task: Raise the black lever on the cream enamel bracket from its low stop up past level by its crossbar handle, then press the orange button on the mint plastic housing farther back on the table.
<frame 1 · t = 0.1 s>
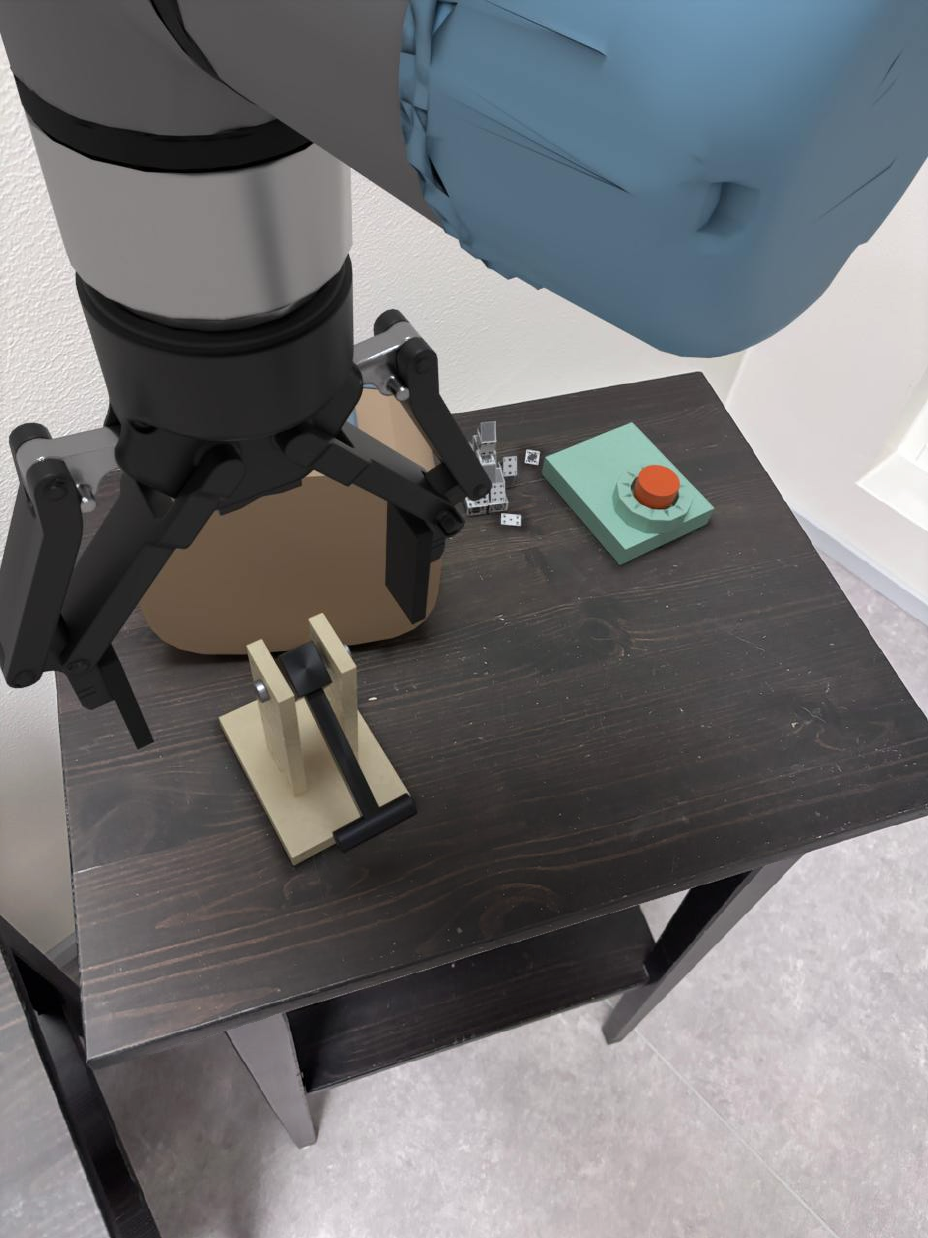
hand: (277, 658, 42), 24 cm above the table, tool pointing down, fingers open, 13 cm apart
alarm clock: (297, 608, 73), on the table
lever: (336, 741, 55), point 11 cm above the table, hinge at -25.0°
bracket: (313, 764, 66), on the table
button box: (623, 498, 83), on the table
button: (656, 487, 78), point 4 cm above the table, slide at 0.1 cm
house of cards: (504, 490, 83), on the table
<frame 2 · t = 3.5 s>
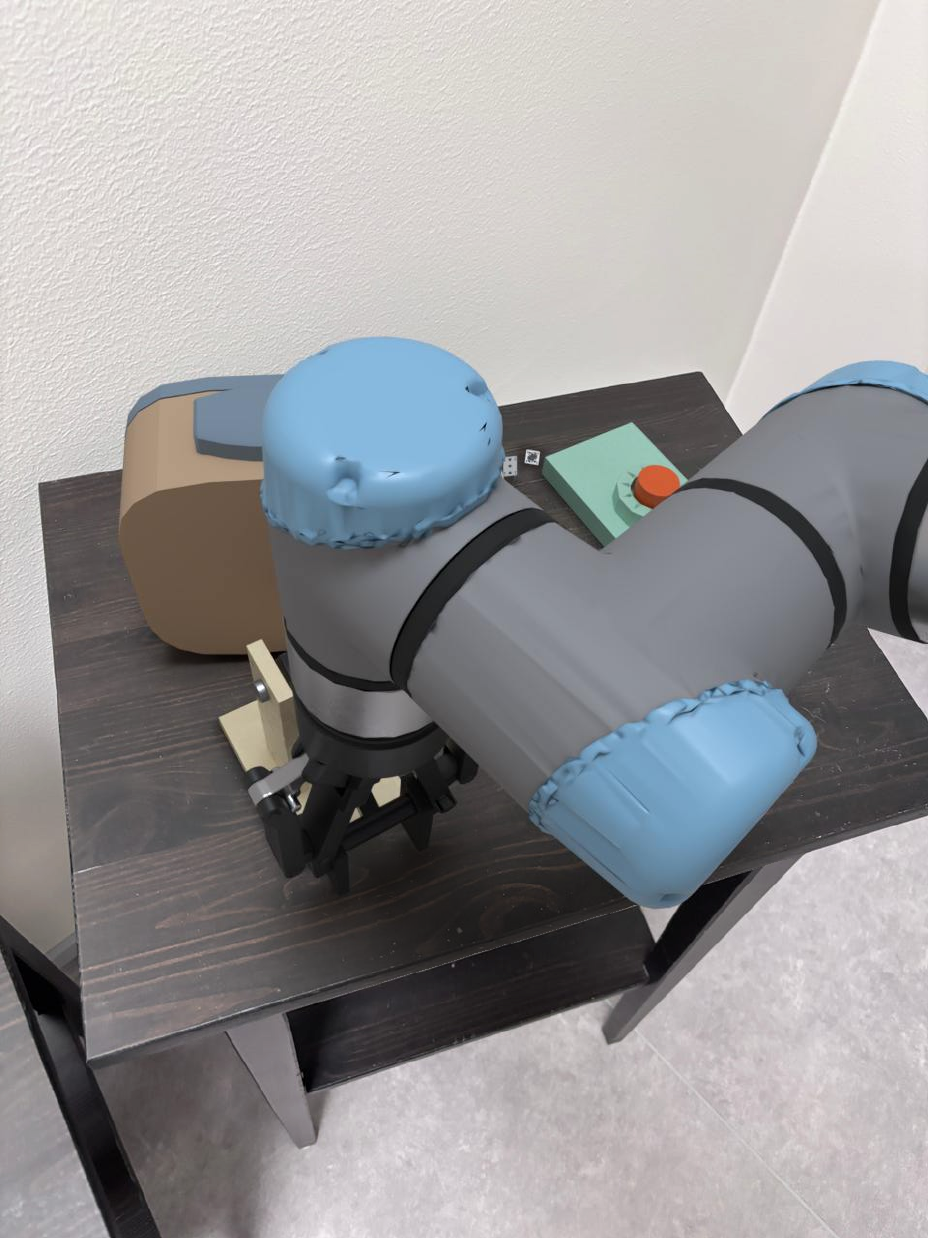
hand: (374, 853, 59), 4 cm above the table, tool pointing down, fingers closed on lever, 5 cm apart
lever: (336, 741, 55), point 11 cm above the table, hinge at -25.0°, touching gripper
everything else where it was.
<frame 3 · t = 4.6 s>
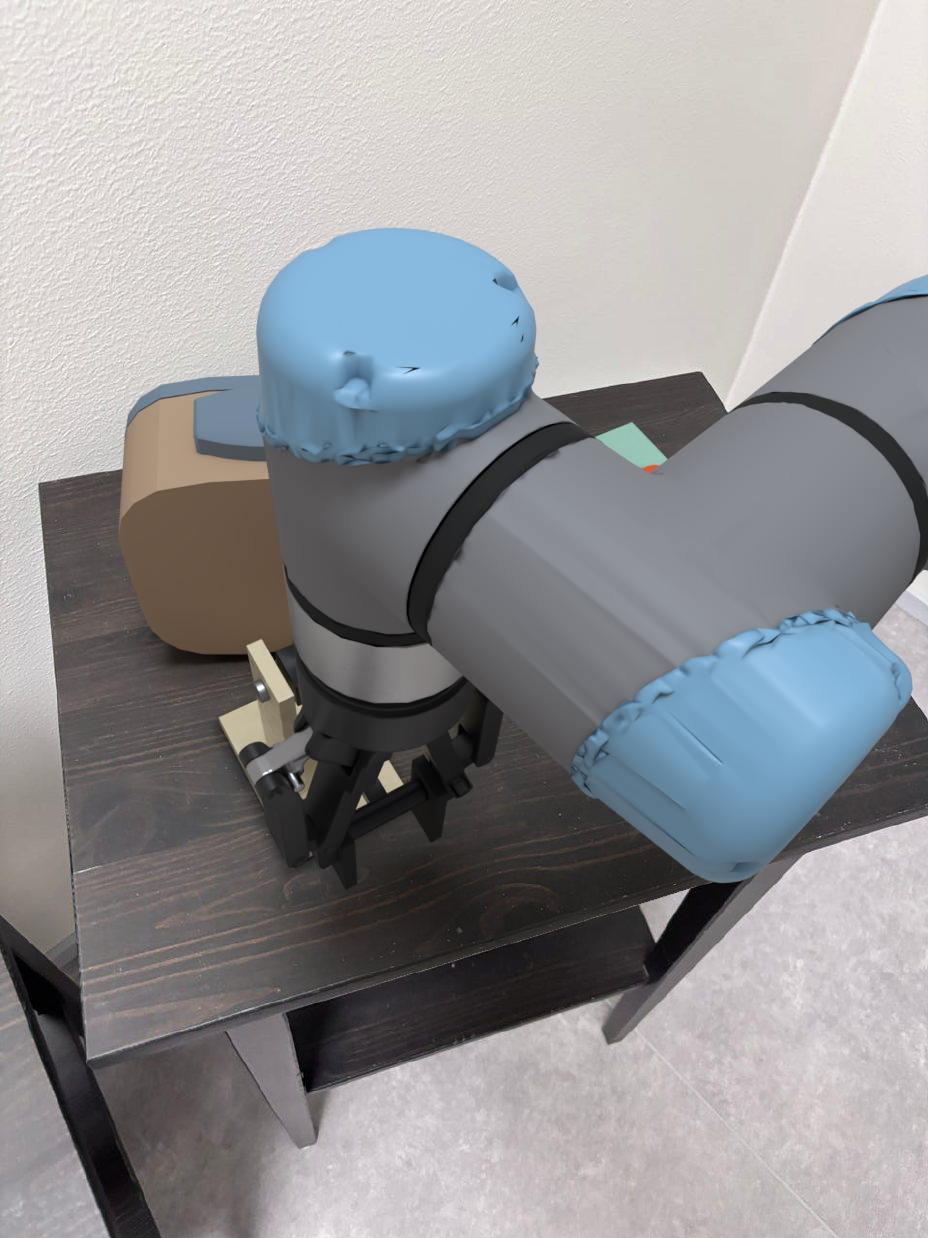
hand: (383, 844, 55), 8 cm above the table, tool pointing down, fingers closed on lever, 5 cm apart
lever: (339, 733, 53), point 13 cm above the table, hinge at -1.4°, touching gripper
everything else where it was.
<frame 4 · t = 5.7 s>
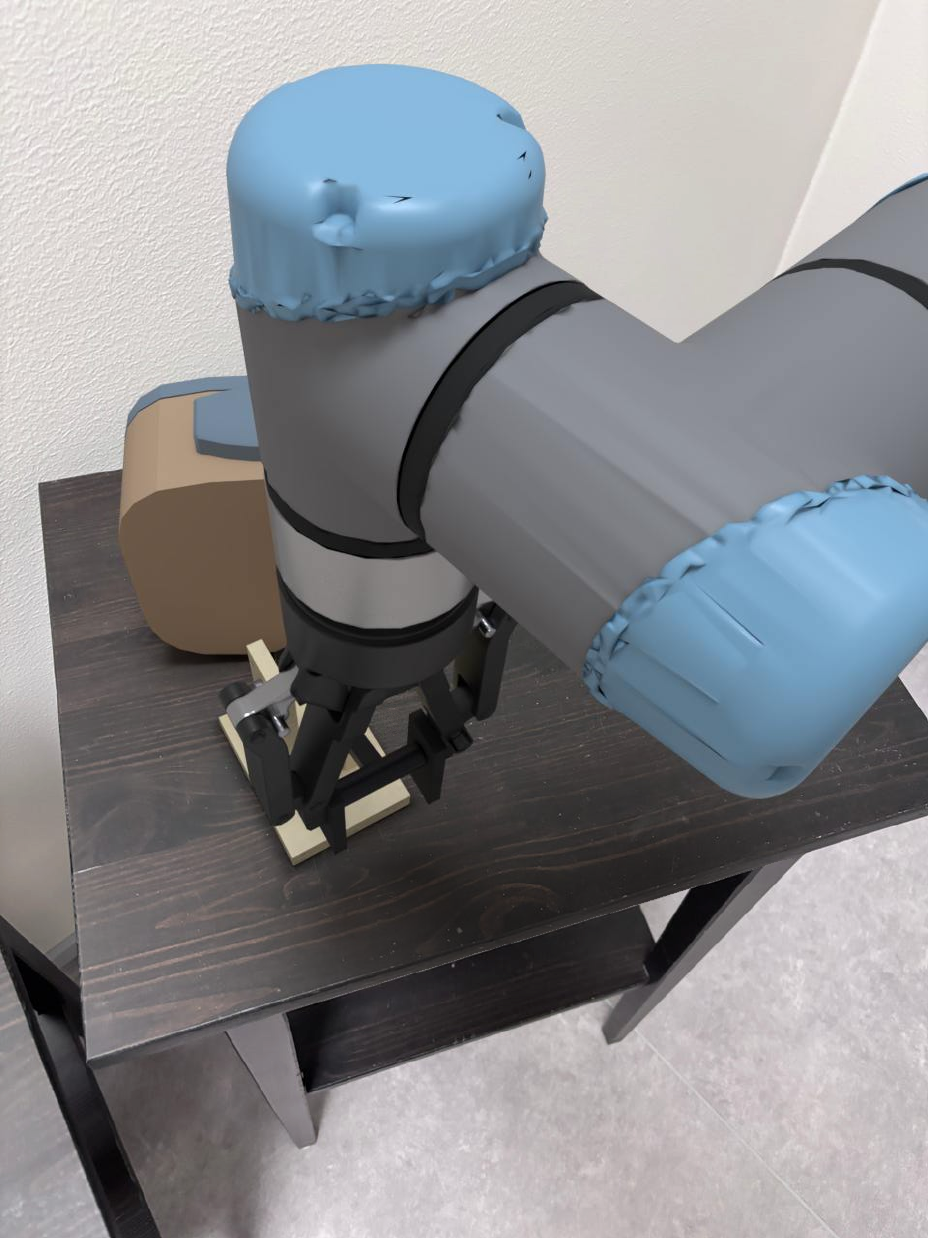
hand: (377, 806, 52), 12 cm above the table, tool pointing down, fingers open, 5 cm apart
lever: (336, 716, 52), point 15 cm above the table, hinge at 19.6°
everything else where it was.
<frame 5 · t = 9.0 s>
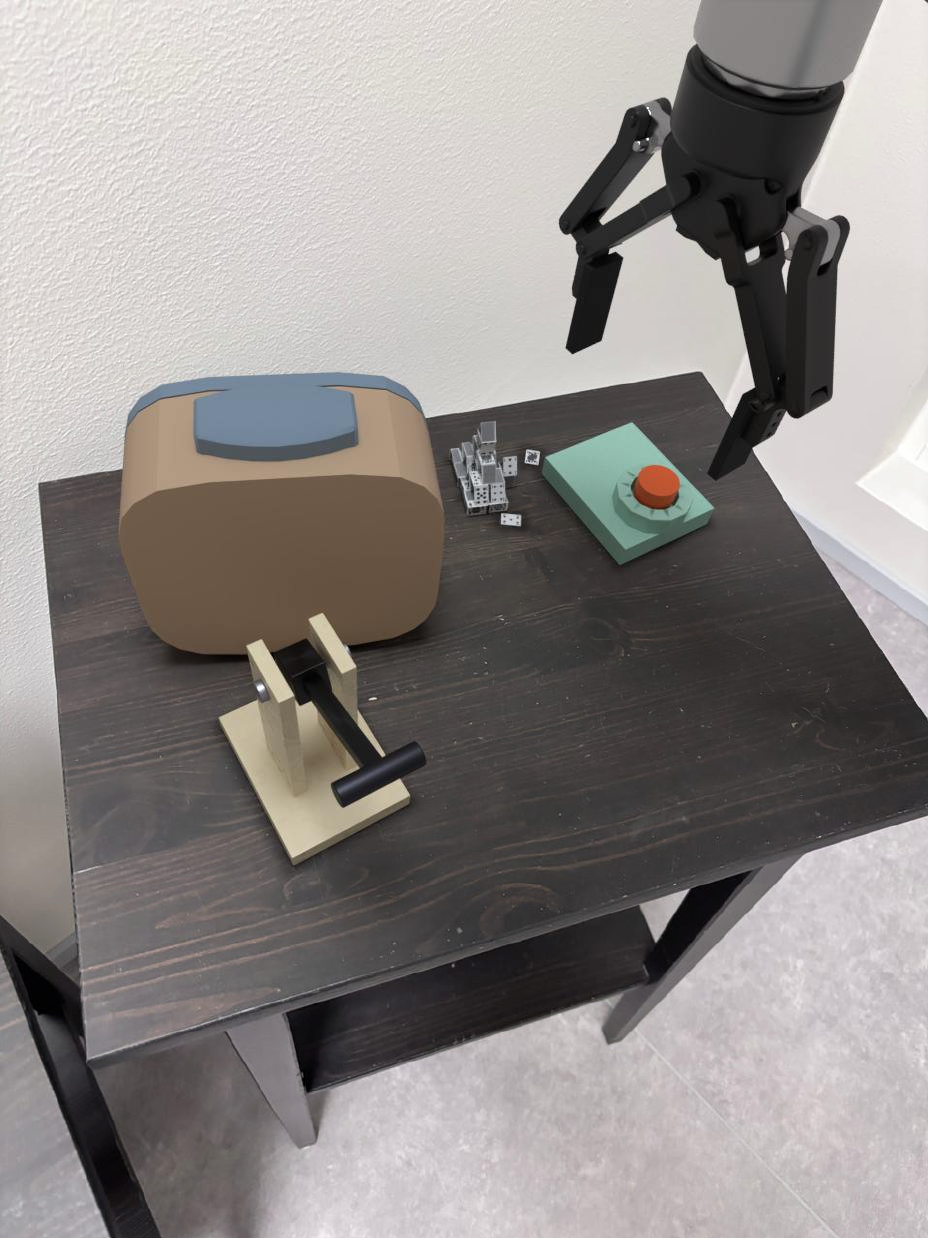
hand: (651, 404, 60), 21 cm above the table, tool pointing down, fingers open, 13 cm apart
nothing on the table moved.
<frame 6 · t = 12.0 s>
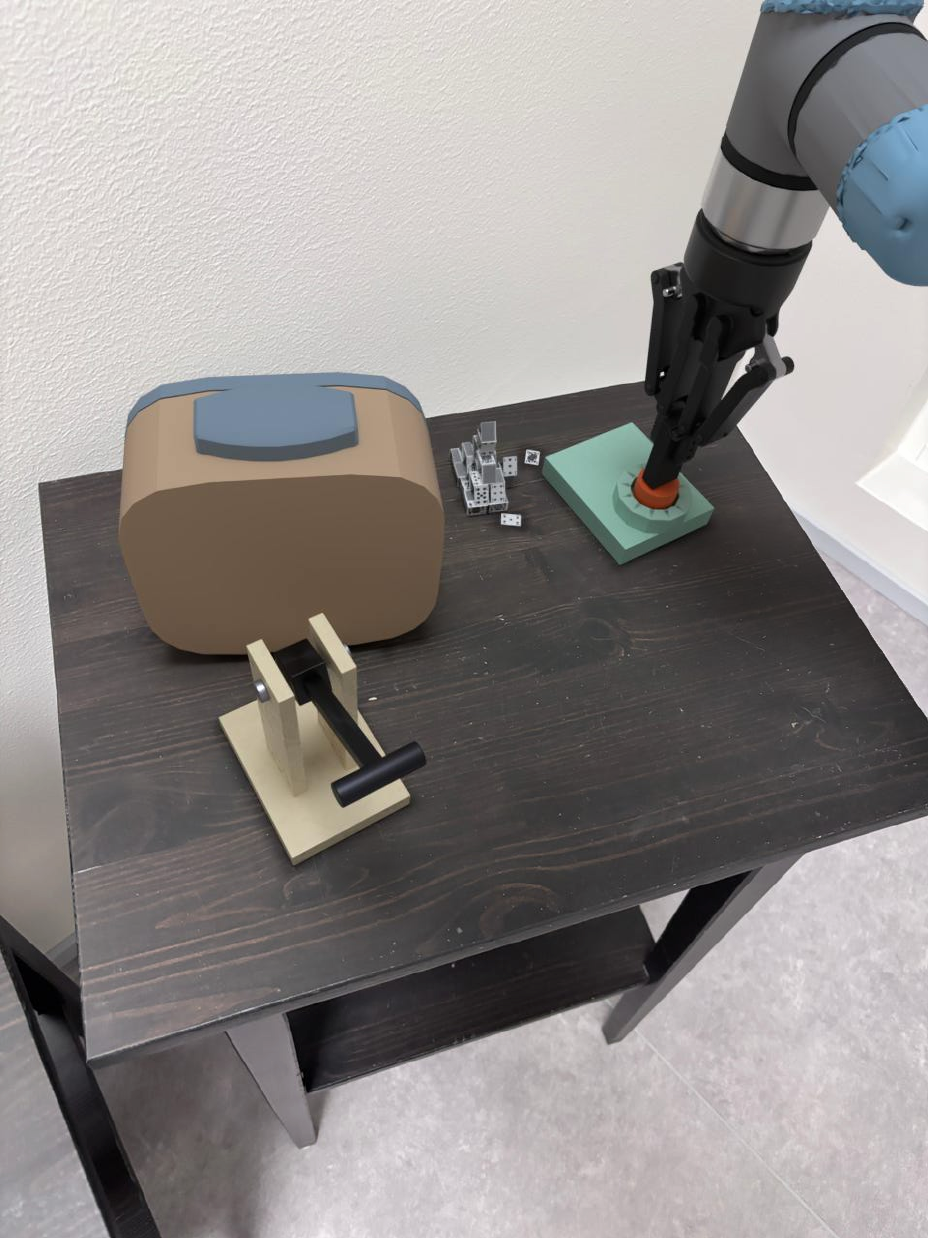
hand: (659, 477, 77), 6 cm above the table, tool pointing down, fingers closed
button: (656, 487, 78), point 4 cm above the table, slide at 0.0 cm, touching gripper
everything else where it was.
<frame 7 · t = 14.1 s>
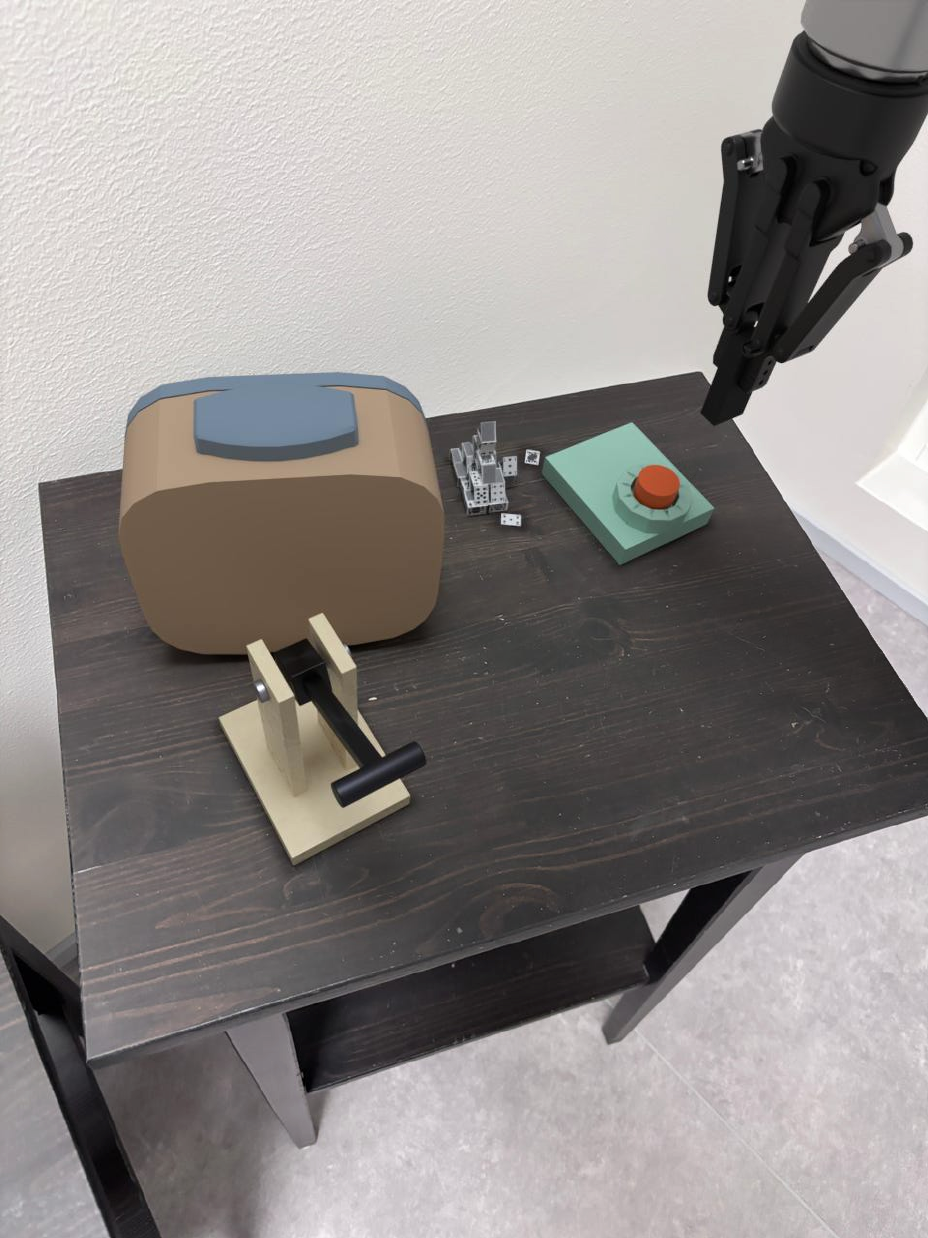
hand: (721, 413, 64), 18 cm above the table, tool pointing down, fingers closed
button: (656, 487, 78), point 4 cm above the table, slide at 0.1 cm
everything else where it was.
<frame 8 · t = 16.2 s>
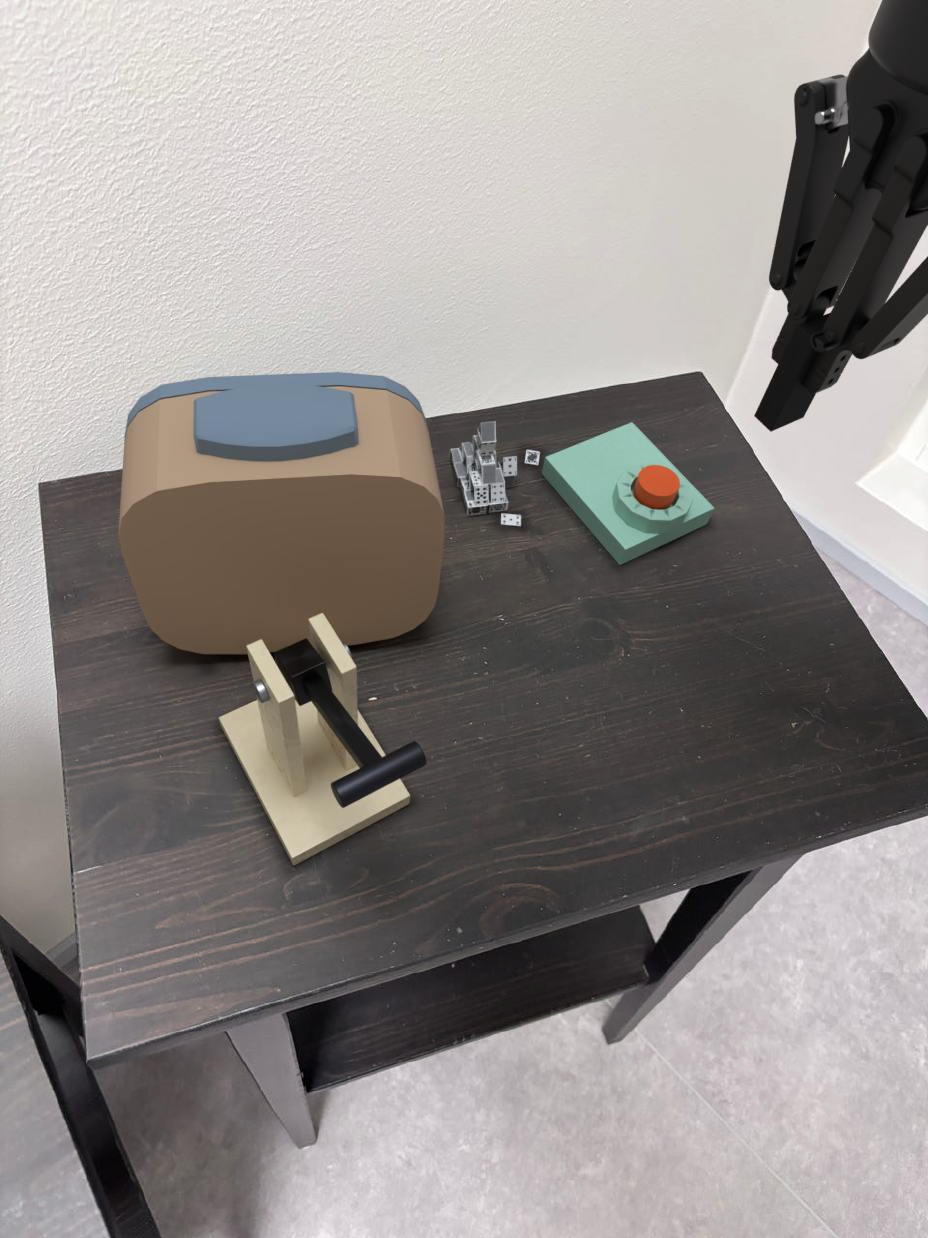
hand: (778, 416, 55), 24 cm above the table, tool pointing down, fingers closed
nothing on the table moved.
at the end: lever at +20° (first picture: -25°); button pushed in 1.0 cm at the most during the clip, back to where it started at the end; button slide at 0.1 cm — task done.
